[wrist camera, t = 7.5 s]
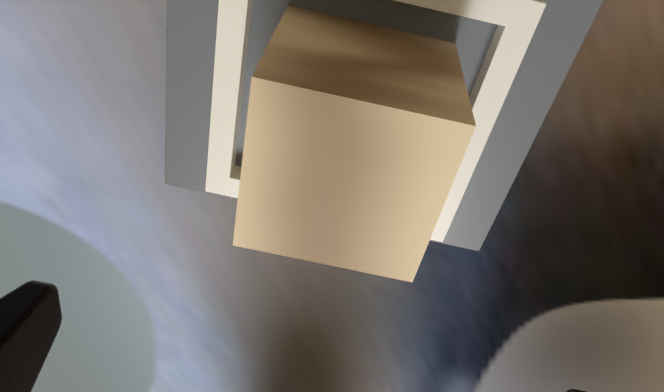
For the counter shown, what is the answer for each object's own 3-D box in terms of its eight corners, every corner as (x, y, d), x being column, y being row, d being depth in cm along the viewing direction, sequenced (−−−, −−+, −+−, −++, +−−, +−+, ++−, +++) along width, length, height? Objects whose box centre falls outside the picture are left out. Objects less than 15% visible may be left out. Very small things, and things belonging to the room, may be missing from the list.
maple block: (455, 43, 16) (475, 126, 12) (408, 179, 19) (412, 282, 15) (288, 5, 16) (251, 76, 12) (267, 148, 19) (232, 245, 15)
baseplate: (600, -27, 15) (621, -8, 14) (475, 233, 21) (481, 265, 20) (181, -128, 15) (158, -120, 13) (173, 168, 21) (157, 196, 19)
